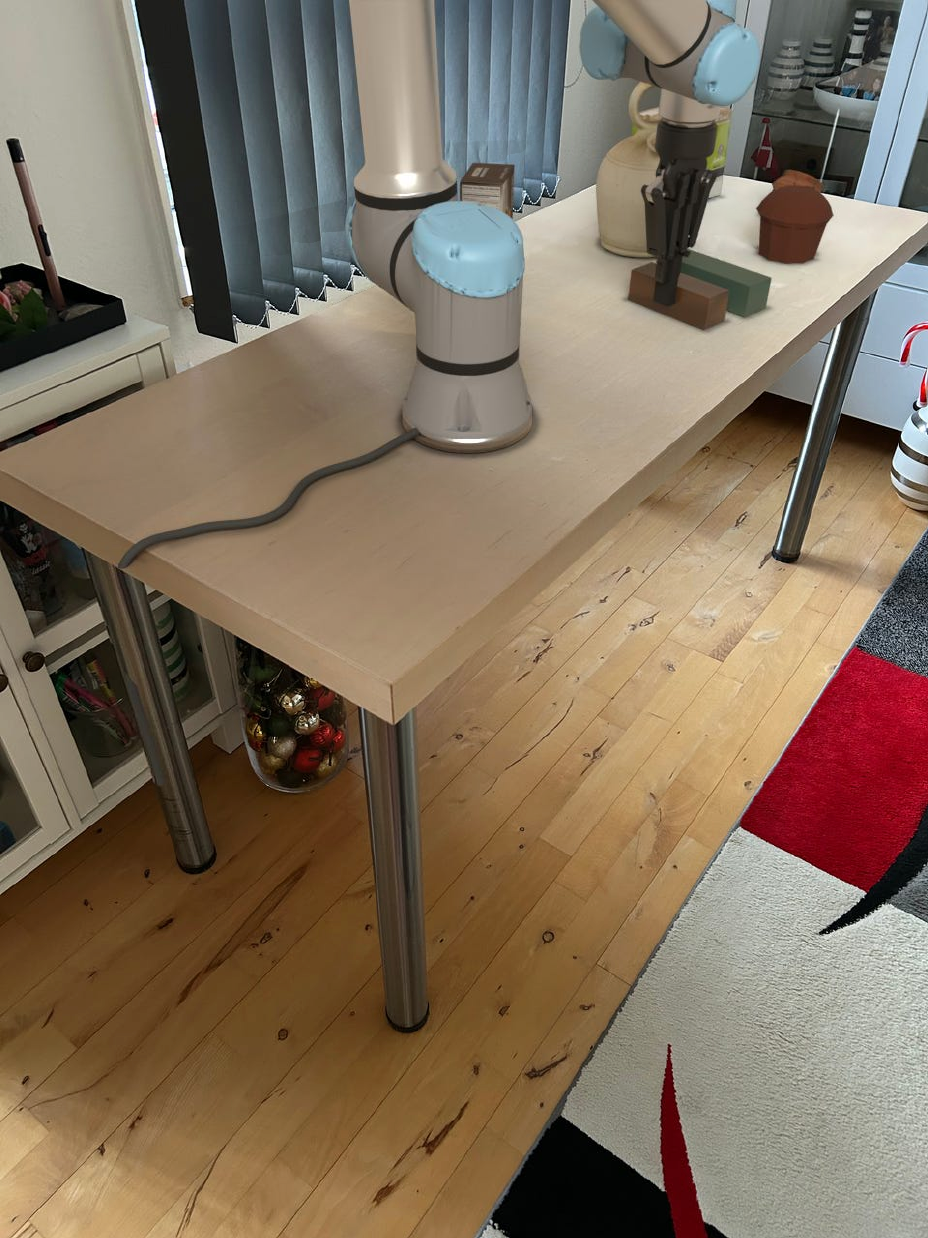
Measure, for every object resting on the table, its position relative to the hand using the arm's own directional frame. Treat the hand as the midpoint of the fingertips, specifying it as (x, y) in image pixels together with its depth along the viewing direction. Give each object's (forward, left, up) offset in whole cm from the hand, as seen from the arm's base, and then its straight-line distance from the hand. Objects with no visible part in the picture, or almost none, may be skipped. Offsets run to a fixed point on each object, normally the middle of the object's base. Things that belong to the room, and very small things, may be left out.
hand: (663, 302), depth 141 cm
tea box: (+42, +33, -2) cm, 53 cm away
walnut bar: (+3, 0, -2) cm, 4 cm away
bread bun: (+50, +13, -2) cm, 52 cm away
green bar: (+11, 0, -2) cm, 11 cm away
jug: (+19, +21, -2) cm, 28 cm away
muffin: (+34, +3, -2) cm, 34 cm away
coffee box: (-11, +25, -2) cm, 27 cm away
